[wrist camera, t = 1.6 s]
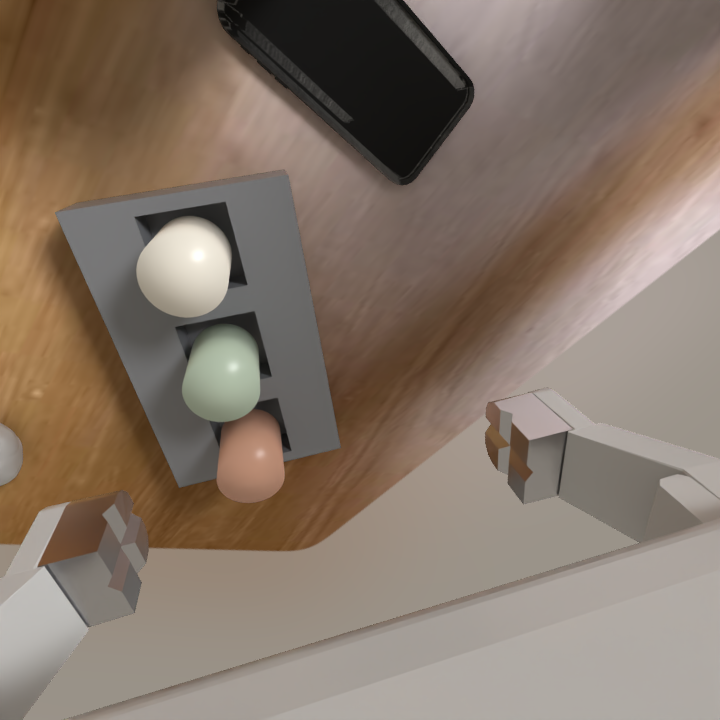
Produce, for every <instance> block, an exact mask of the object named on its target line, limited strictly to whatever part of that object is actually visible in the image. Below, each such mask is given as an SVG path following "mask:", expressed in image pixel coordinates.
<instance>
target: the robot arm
mask: <svg viewBox="0 0 720 720" xmlns="http://www.w3.org/2000/svg"><path fill="white" fill-rule="evenodd" d="M486 418H487V419H488V420H489V422H490V423H491V425H490V426H489V428H488V429H487V431H486V432H485V444H486V448H487V452H488V455H489V457H490V459H491V461H492V463H493V464H494V466H495V467H496V469H497V470H498V471H501V472H503V473H505V474H507V475H508V485H509V486H510V487H511V489H512V490H513V491H514V492H515V494H516V495H517V497H518V498H519V499H520V500H521V502H522V503H523V504H527V503H531V502H535V501H539V500H543V499H546V498H551V497H555V496H559V498H561V499H562V500H564V501H566V502H568V503H569V504H571V505H573V506H575V507H577V508H578V509H580V510H582V511H584V512H586V513H587V514H589V515H591V516H593V517H595V518H596V519H598V520H600V521H602V522H603V523H606V524H607V525H609V526H611V527H612V528H614V529H616V530H618V531H620V532H621V533H623V534H625V535H627V536H628V537H630V538H632V539H634V540H636V541H637V542H639V543H638V544H634V545H631V546H628V547H624V548H621V549H618V550H615V551H611V552H608V553H605V554H602V555H598V556H595V557H592V558H589V559H585V560H582V561H579V562H576V563H572V564H569V565H566V566H562V567H559V568H556V569H553V570H549V571H546V572H543V573H540V574H536V575H533V576H530V577H527V578H524V579H520V580H517V581H514V582H510V583H507V584H504V585H501V586H497V587H494V588H491V589H488V590H484V591H481V592H478V593H474V594H471V595H468V596H465V597H461V598H459V599H455V600H452V601H449V602H445V603H442V604H439V605H436V606H432V607H429V608H426V609H422V610H419V611H416V612H413V613H409V614H406V615H403V616H400V617H396V618H393V619H390V620H387V621H383V622H380V623H377V624H373V625H370V626H367V627H364V628H360V629H357V630H354V631H351V632H347V633H344V634H341V635H338V636H334V637H331V638H328V639H324V640H321V641H318V642H315V643H311V644H308V645H305V646H302V647H298V648H295V649H292V650H289V651H285V652H282V653H279V654H275V655H272V656H269V657H266V658H262V659H259V660H256V661H253V662H249V663H246V664H243V665H240V666H236V667H233V668H230V669H227V670H223V671H220V672H217V673H214V674H211V675H207V676H204V677H201V678H197V679H194V680H191V681H187V682H184V683H181V684H178V685H174V686H171V687H168V688H165V689H162V690H158V691H155V692H152V693H148V694H145V695H142V696H139V697H135V698H132V699H129V700H126V701H122V702H119V703H116V704H113V705H109V706H106V707H103V708H99V709H96V710H93V711H90V712H87V713H84V714H80V715H77V716H73V717H70V718H67V719H64V720H720V458H716V457H713V456H710V455H706V454H703V453H700V452H697V451H693V450H690V449H687V448H683V447H680V446H677V445H673V444H670V443H667V442H663V441H660V440H656V439H653V438H650V437H647V436H644V435H640V434H637V433H634V432H630V431H627V430H624V429H620V428H617V427H614V426H610V425H607V424H604V423H599V424H594V423H593V422H592V421H591V420H590V419H588V418H587V417H586V416H585V415H584V414H582V413H581V412H580V411H579V410H578V409H576V408H575V407H574V406H573V405H571V404H570V403H569V402H568V401H567V400H565V399H564V398H563V397H562V396H561V395H559V394H558V393H557V392H556V391H554V390H553V389H551V388H548V387H546V388H543V389H538V390H535V391H531V392H528V393H526V394H522V395H518V396H514V397H509V398H505V399H501V400H497V401H493V402H489V403H488V405H487V407H486ZM133 504H134V503H133V501H132V499H131V497H130V496H129V494H128V492H126V491H123V490H120V491H116V492H111V493H106V494H102V495H97V496H93V497H88V498H83V499H79V500H74V501H72V502H66V503H62V504H58V505H53V506H49V507H46V508H44V509H43V510H41V511H40V512H39V513H38V515H37V517H36V519H35V520H34V522H33V524H32V526H31V528H30V530H29V531H28V533H27V535H26V537H25V539H24V541H23V542H22V544H21V546H20V548H19V550H18V552H17V554H16V555H15V557H14V559H13V561H12V563H11V564H10V566H9V568H8V570H7V572H6V574H5V575H4V577H0V720H22V719H23V718H24V717H25V715H26V714H27V713H28V711H29V710H30V709H31V707H32V706H33V705H34V703H35V702H36V701H37V699H38V698H39V696H40V695H41V694H42V692H43V691H44V690H45V688H46V687H47V685H48V684H49V683H50V682H51V680H52V679H53V678H54V676H55V675H56V673H57V672H58V671H59V669H60V668H61V667H62V665H63V664H64V663H65V661H66V660H67V659H68V657H69V656H70V655H71V653H72V652H73V651H74V649H75V648H76V646H77V645H78V644H79V642H80V641H81V640H82V638H83V637H84V636H85V634H86V633H87V632H88V630H89V629H88V627H91V626H94V625H97V624H101V623H104V622H107V621H110V620H113V619H117V618H120V617H123V616H127V615H130V614H133V613H135V609H136V604H137V600H138V596H139V591H140V587H141V583H142V582H141V580H140V579H139V577H138V575H137V573H138V572H139V571H140V570H141V569H142V567H143V566H144V565H145V564H146V560H147V556H148V535H147V531H146V527H145V525H144V523H143V521H142V519H141V518H140V517H138V516H136V515H134V514H132V513H131V511H132V508H133Z"/></svg>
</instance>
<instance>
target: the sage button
mask: <svg viewBox="0 0 720 720" xmlns="http://www.w3.org/2000/svg"><path fill="white" fill-rule="evenodd" d="M182 395H183V398H184V401H185V403H186V405H187V406H188V407H189V409H190V410H191V411H192V412H194V413H195V414H196V415H198V416H199V417H201V418H204V419H206V420H210V421H215V422H228V421H233V420H237V419H239V418H241V417H243V416H245V415H246V414H248V413H249V412H250V411H251V410H252V409H253V408H254V407H255V405H256V404H257V402H258V400H259V396H260V371H259V349H258V345H257V343H256V341H255V339H254V338H253V336H252V335H251V334H250V333H249V332H248V331H246V330H245V329H243V328H241V327H239V326H236V325H232V324H216V325H213V326H210V327H208V328H206V329H204V330H203V331H202V332H201V333H200V334H199V335H198V336H197V337H196V339H195V341H194V343H193V346H192V350H191V354H190V357H189V361H188V365H187V369H186V373H185V376H184V380H183V385H182Z"/></svg>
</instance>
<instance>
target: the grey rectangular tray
mask: <svg viewBox="0 0 720 720" xmlns="http://www.w3.org/2000/svg"><path fill="white" fill-rule="evenodd" d="M55 214H56V216H57V218H58V221H59V223H60V225H61V227H62V230H63V232H64V234H65V236H66V238H67V241H68V243H69V245H70V247H71V249H72V252H73V254H74V256H75V258H76V260H77V263H78V265H79V267H80V269H81V272H82V274H83V276H84V278H85V280H86V283H87V285H88V287H89V289H90V291H91V294H92V296H93V298H94V300H95V302H96V305H97V307H98V309H99V311H100V314H101V316H102V318H103V320H104V322H105V325H106V327H107V329H108V331H109V333H110V336H111V338H112V340H113V342H114V344H115V347H116V349H117V351H118V353H119V356H120V358H121V360H122V362H123V364H124V367H125V369H126V371H127V373H128V375H129V378H130V380H131V382H132V384H133V387H134V389H135V391H136V393H137V395H138V398H139V400H140V402H141V404H142V406H143V409H144V411H145V413H146V415H147V417H148V420H149V422H150V424H151V426H152V429H153V431H154V433H155V435H156V437H157V440H158V442H159V444H160V446H161V448H162V451H163V453H164V455H165V457H166V459H167V462H168V464H169V466H170V468H171V471H172V473H173V475H174V477H175V479H176V482H177V484H178V486H179V488H180V487H184V486H188V485H192V484H196V483H200V482H204V481H208V480H212V479H217V470H218V460H219V449H220V439H221V430H222V426H223V424H224V423H225V422H215V421H210V420H206V419H204V418H201V417H199V416H198V415H196V414H195V413H194V412H192V411H191V410H190V409H189V407H188V406H187V405H186V403H185V401H184V398H183V395H182V385H183V380H184V376H185V373H186V369H187V365H188V361H189V357H190V354H191V350H192V346H193V343H194V341H195V339H196V337H197V336H198V335H199V334H200V333H201V332H202V331H203V330H204V329H206V328H208V327H210V326H213V325H216V324H232V325H236V326H239V327H241V328H243V329H245V330H246V331H248V332H249V333H250V334H251V335H252V336H253V338H254V339H255V341H256V343H257V345H258V349H259V371H260V396H259V400H258V402H257V404H256V405H255V407H254V408H253V409H258V410H263V411H265V412H268V413H269V414H271V415H272V416H273V417H274V418H275V419H276V420H277V421H278V423H279V426H280V431H281V441H282V451H283V462H286V461H290V460H294V459H298V458H302V457H306V456H310V455H314V454H318V453H322V452H326V451H330V450H334V449H338V448H341V446H340V441H339V436H338V430H337V425H336V420H335V415H334V410H333V405H332V399H331V394H330V389H329V384H328V379H327V373H326V368H325V363H324V358H323V353H322V348H321V342H320V337H319V332H318V327H317V322H316V316H315V311H314V306H313V301H312V296H311V290H310V285H309V280H308V275H307V270H306V265H305V259H304V254H303V249H302V244H301V239H300V233H299V228H298V223H297V218H296V213H295V208H294V202H293V197H292V192H291V187H290V182H289V176H288V174H287V173H286V171H285V170H279V171H272V172H266V173H260V174H254V175H247V176H241V177H235V178H229V179H222V180H216V181H210V182H204V183H198V184H191V185H185V186H179V187H173V188H166V189H160V190H154V191H148V192H142V193H135V194H129V195H123V196H117V197H110V198H104V199H98V200H92V201H86V202H79V203H75V204H73V205H71V206H68V207H66V208H64V209H62V210H59V211H57V212H55ZM182 216H197V217H201V218H204V219H207V220H209V221H211V222H212V223H214V224H215V225H217V226H218V227H219V228H220V229H221V230H222V231H223V233H224V234H225V235H226V237H227V239H228V241H229V243H230V246H231V251H232V262H231V269H230V276H229V283H228V289H227V292H226V295H225V297H224V299H223V300H222V302H221V303H220V304H219V305H218V306H217V307H216V308H215V309H213V310H212V311H210V312H209V313H207V314H204V315H201V316H198V317H188V318H185V317H177V316H173V315H170V314H167V313H165V312H163V311H161V310H160V309H158V308H157V307H155V306H154V305H153V304H152V303H151V302H150V301H149V300H148V299H147V298H146V297H145V295H144V294H143V292H142V291H141V289H140V286H139V284H138V280H137V275H136V268H137V262H138V259H139V256H140V254H141V252H142V251H143V249H144V248H145V247H146V246H147V245H148V243H149V242H150V241H151V240H152V239H153V238H154V237H155V235H156V234H157V233H158V232H159V231H160V230H161V229H162V227H163V226H164V225H165V224H167V223H168V222H169V221H171V220H173V219H175V218H178V217H182Z"/></svg>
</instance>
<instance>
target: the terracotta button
mask: <svg viewBox="0 0 720 720" xmlns="http://www.w3.org/2000/svg"><path fill="white" fill-rule="evenodd" d="M284 478H285V472H284V462H283V451H282V441H281V431H280V426H279V423H278V421H277V420H276V419H275V418H274V417H273V416H272V415H271V414H269V413H268V412H265V411H263V410H258V409H252V410H251V411H250V412H249V413H248V414H246V415H245V416H243V417H241V418H239V419H237V420H233V421H228V422H225V423H224V424H223V426H222V430H221V439H220V449H219V460H218V470H217V485H218V488H219V490H220V491H221V492H222V493H223V494H224V495H225V496H226V497H227V498H229V499H231V500H233V501H237V502H241V503H255V502H260V501H263V500H265V499H268V498H269V497H271V496H273V495H274V494H275V493H276V492H277V491H278V490H279V489H280V488H281V486H282V484H283V482H284Z"/></svg>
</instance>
